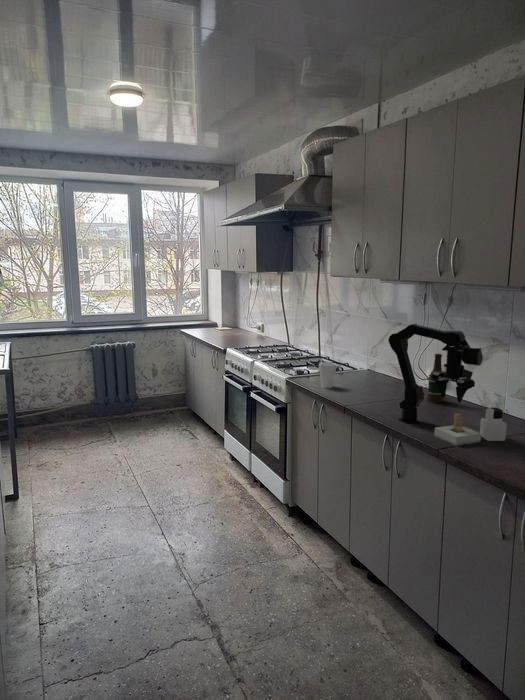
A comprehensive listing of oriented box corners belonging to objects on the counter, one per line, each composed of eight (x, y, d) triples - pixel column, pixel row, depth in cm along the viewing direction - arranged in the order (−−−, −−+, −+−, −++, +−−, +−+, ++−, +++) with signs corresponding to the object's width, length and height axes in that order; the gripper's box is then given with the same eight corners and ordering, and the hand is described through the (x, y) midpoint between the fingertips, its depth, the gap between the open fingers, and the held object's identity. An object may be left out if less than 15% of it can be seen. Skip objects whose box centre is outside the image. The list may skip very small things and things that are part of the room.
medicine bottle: (496, 434, 206) (499, 406, 204) (505, 441, 199) (508, 411, 197) (479, 435, 205) (481, 406, 203) (487, 441, 198) (490, 411, 196)
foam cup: (331, 384, 290) (331, 361, 288) (338, 388, 282) (339, 365, 279) (315, 385, 287) (316, 362, 285) (322, 389, 279) (323, 366, 276)
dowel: (451, 436, 201) (452, 414, 200) (457, 435, 203) (459, 413, 201) (457, 438, 198) (458, 416, 197) (463, 437, 200) (465, 415, 198)
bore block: (434, 436, 204) (434, 427, 203) (458, 432, 208) (458, 424, 208) (455, 445, 193) (456, 437, 192) (480, 442, 197) (481, 433, 197)
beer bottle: (424, 401, 255) (427, 354, 251) (431, 398, 261) (434, 352, 257) (439, 404, 250) (442, 356, 246) (446, 401, 256) (449, 354, 252)
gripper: (487, 365, 201) (483, 403, 204) (453, 357, 218) (450, 392, 221) (464, 367, 197) (461, 406, 200) (432, 358, 214) (430, 394, 217)
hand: (451, 399), depth 209 cm, fingers open, 9 cm apart
